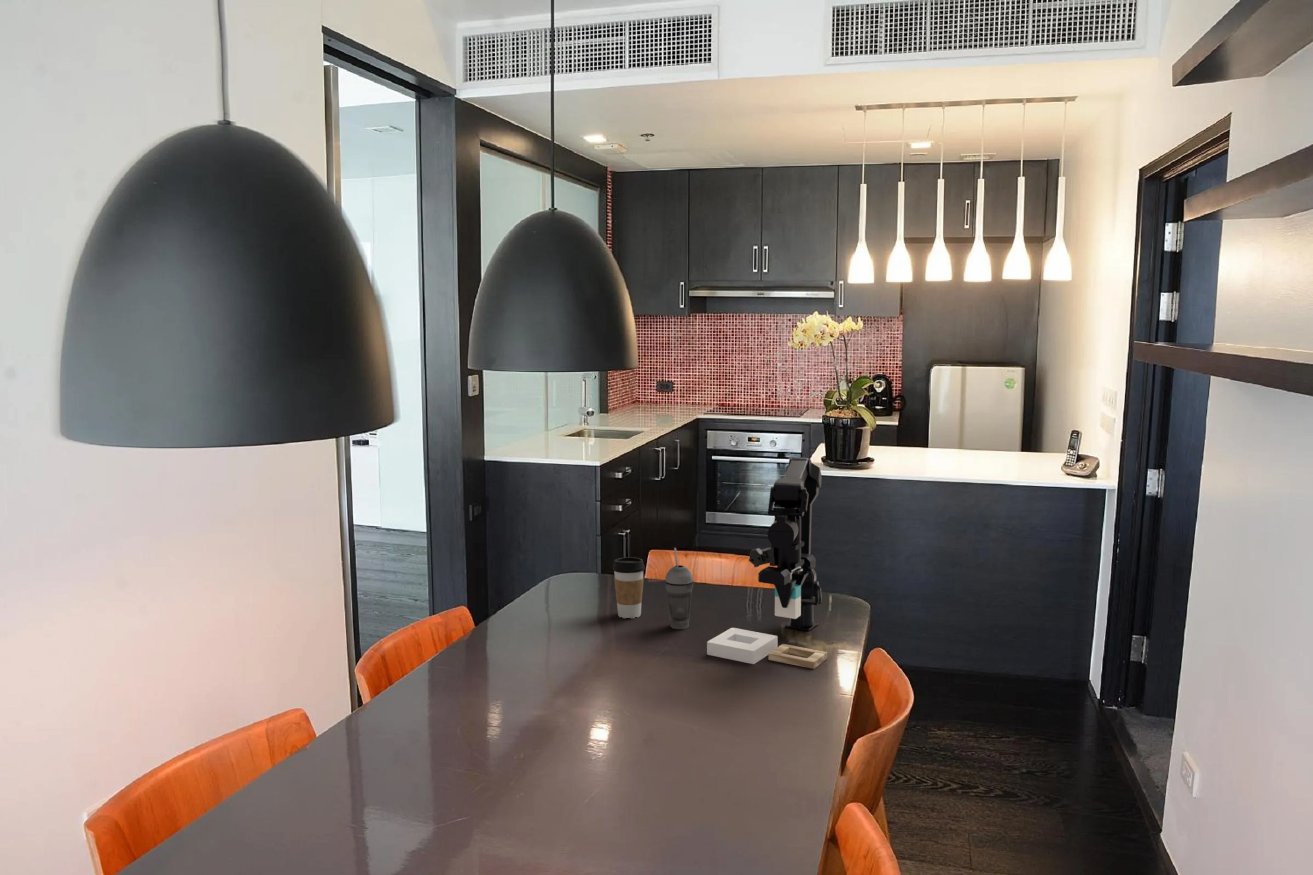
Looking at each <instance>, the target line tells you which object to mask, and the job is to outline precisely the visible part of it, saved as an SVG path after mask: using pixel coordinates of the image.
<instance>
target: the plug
mask: <svg viewBox="0 0 1313 875" xmlns="http://www.w3.org/2000/svg"><path fill="white" fill-rule="evenodd" d="M774 616H775V617H780V618H781V617H782V618H787V619H790V618H792V619H796V618H798V617H799V616H801V585H797V584H795V586H794V589H793V592H792V595H791V598H790V601H789V604H788V607H787V608H783V607H782V605H781V602H780V599H779V596H778V592H777V590H776V587H775V586H774Z"/></svg>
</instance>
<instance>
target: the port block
mask: <svg viewBox="0 0 1313 875" xmlns="http://www.w3.org/2000/svg"><path fill="white" fill-rule="evenodd" d="M778 639H779V638H778V635H773V634H769V633H763V632H757V631H752V630H748V629H744V628H743V629H741V628H737V627H730V628H729V629H727V630H726V631H723V632H722V633H720V634H718V635H717V636H715V637H713V638H711V639H709V640H708V641H707V642H706V655H708V656H712V657H718V658H722V659H728V660H731V661H737V662H742V663H745V664H750V665H755V664H756V663H758V662H760V661H761V660H763V659H764V658H765V657H767V656H769V653H770V652H771V651H773V650H774V649H776V648H777V647H778V643H779V642H778Z"/></svg>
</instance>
